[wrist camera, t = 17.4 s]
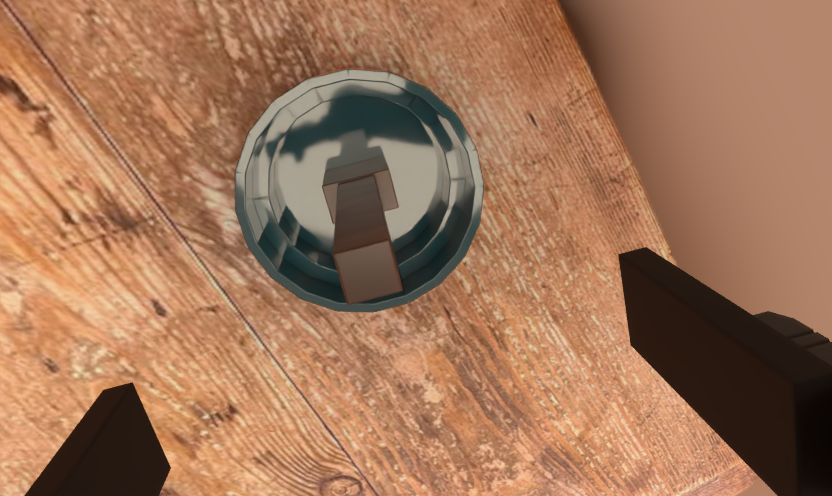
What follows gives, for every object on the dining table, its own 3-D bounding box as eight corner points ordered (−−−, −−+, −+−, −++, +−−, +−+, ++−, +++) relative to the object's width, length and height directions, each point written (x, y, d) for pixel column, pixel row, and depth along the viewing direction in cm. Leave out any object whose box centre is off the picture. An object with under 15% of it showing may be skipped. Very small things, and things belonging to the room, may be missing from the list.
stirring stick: (384, 155, 39) (412, 230, 22) (393, 190, 40) (427, 288, 23) (324, 170, 39) (307, 257, 22) (334, 205, 40) (325, 314, 23)
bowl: (439, 43, 38) (455, 41, 32) (482, 249, 43) (503, 278, 37) (220, 98, 38) (198, 105, 32) (288, 300, 42) (278, 337, 37)
